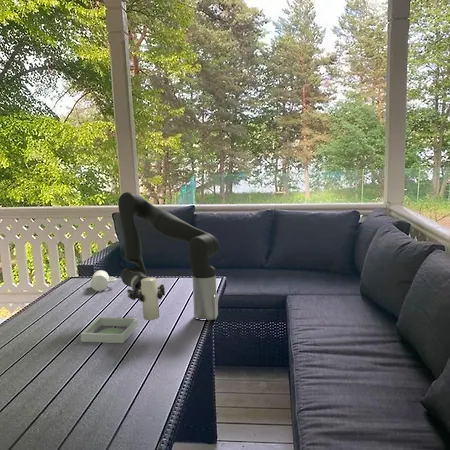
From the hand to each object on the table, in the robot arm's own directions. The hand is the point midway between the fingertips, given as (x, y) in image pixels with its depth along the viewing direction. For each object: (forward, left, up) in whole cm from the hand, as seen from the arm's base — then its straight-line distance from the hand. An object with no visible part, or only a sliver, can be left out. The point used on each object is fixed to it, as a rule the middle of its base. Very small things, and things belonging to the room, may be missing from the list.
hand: (151, 297), depth 155 cm
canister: (+1, -2, -8) cm, 8 cm away
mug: (+43, -58, -16) cm, 74 cm away
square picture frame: (+17, -3, -15) cm, 23 cm away
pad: (+17, -3, -15) cm, 23 cm away
